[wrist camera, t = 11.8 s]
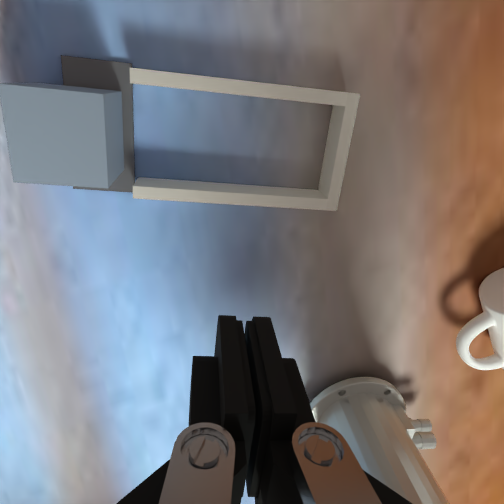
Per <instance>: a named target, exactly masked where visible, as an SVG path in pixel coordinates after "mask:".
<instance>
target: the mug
mask: <svg viewBox="0 0 504 504" xmlns="http://www.w3.org/2000/svg"><path fill="white" fill-rule="evenodd" d="M479 297H480V301H481V305H482V309H483V313H481V314H479V315H478V316H476V317H474V318H473V319H471V320H470V321H469V322H468V323H466V324H465V325H464V326H463V327H462V329H461V330H460V332H459V333H458V335H457V339H456V347H457V351H458V353H459V355H460V357H461V358H462V360H463V361H464V362H465V363H466V364H468V365H469V366H471V367H473V368H476V369H480V370H493V369H498V368H501V367H502V368H503V369H504V268H501V269H499V270H497V271H495V272H493V273H491V274H490V275H488V276H487V277H486V278H485V279H484V280H483V281H482V283H481V285H480V287H479ZM487 328H488V332H489V335H490V339H491V343H492V347H493V351H494V354H493V355H491V356H488V357H485V358H480V359H477V358H474V357H472V356H471V354H470V352H469V345H470V343H471V341H472V340H473V339H474V338H475V337H476V336H477V335H478V334H480V333H481V332H482V331H484V330H485V329H487Z"/></svg>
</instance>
